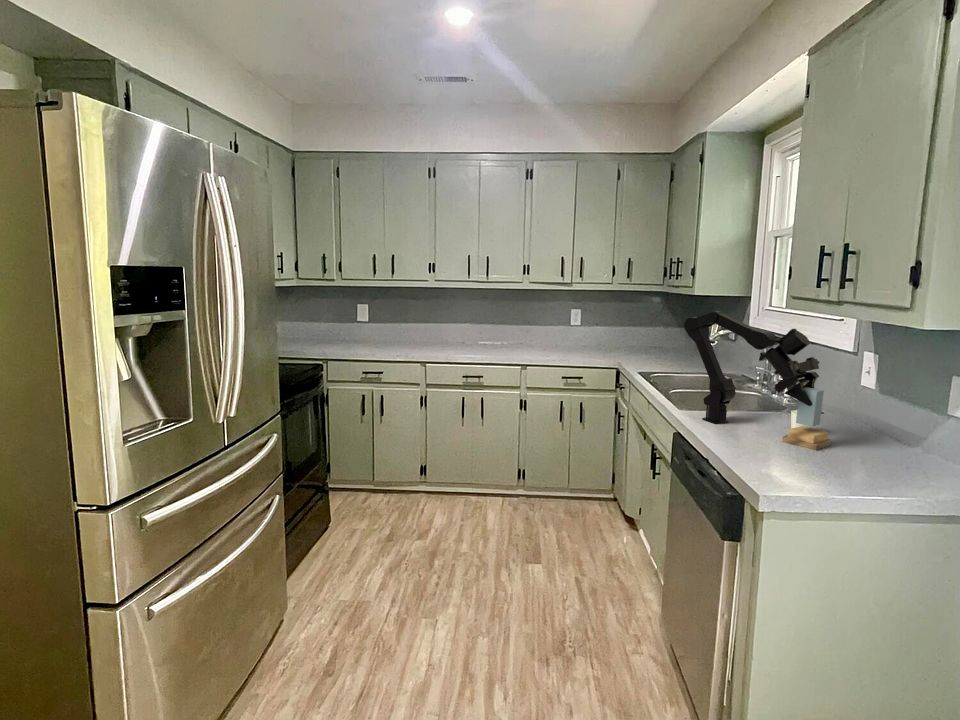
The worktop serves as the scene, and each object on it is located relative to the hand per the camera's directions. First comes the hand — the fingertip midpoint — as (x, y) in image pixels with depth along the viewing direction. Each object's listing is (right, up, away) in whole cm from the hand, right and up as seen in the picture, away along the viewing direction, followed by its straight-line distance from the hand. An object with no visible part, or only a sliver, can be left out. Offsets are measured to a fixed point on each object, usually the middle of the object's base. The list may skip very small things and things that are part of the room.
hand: (814, 404), depth 178 cm
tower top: (-1, -11, +2) cm, 11 cm away
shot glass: (+4, -11, +16) cm, 20 cm away
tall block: (-1, -6, +2) cm, 7 cm away
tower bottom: (-1, -13, +3) cm, 14 cm away
